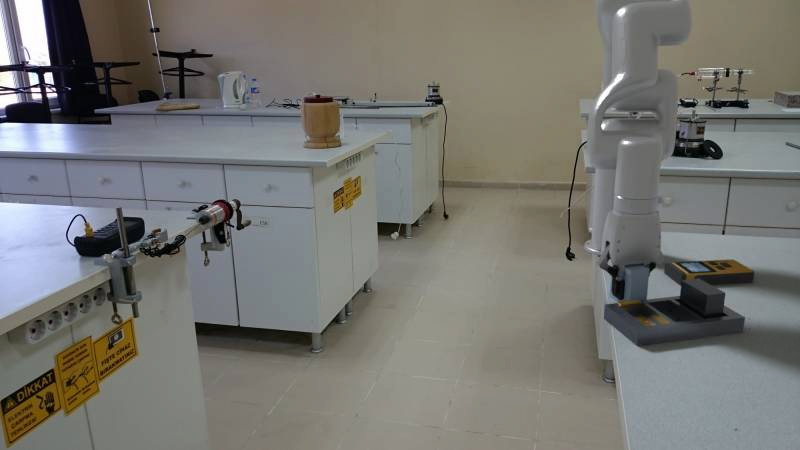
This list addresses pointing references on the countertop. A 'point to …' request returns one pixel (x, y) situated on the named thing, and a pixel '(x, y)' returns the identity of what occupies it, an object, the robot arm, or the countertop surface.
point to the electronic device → (710, 271)
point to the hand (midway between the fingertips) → (627, 295)
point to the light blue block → (634, 283)
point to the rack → (675, 315)
